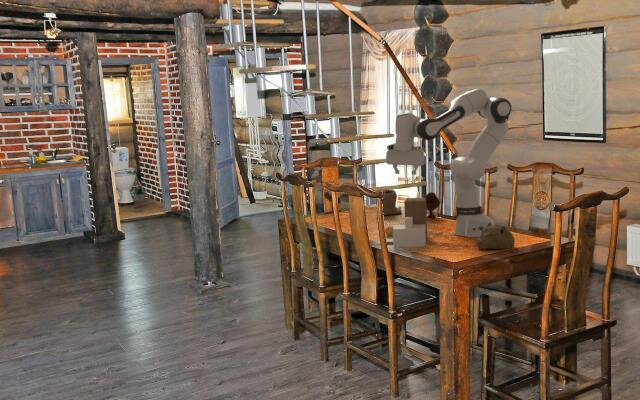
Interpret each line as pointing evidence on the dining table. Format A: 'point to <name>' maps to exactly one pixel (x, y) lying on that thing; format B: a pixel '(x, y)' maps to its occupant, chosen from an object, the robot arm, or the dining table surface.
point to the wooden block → (416, 211)
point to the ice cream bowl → (431, 203)
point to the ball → (389, 230)
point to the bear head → (495, 238)
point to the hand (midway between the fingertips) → (405, 174)
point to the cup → (409, 234)
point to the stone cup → (390, 203)
